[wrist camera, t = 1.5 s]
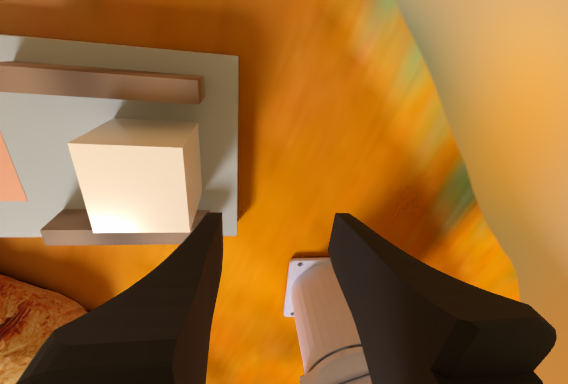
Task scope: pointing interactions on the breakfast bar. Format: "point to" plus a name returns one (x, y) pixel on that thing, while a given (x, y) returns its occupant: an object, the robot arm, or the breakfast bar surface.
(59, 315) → the croissant
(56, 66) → the parallel rails
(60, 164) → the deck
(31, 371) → the robot arm
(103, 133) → the cube
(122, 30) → the breakfast bar surface
